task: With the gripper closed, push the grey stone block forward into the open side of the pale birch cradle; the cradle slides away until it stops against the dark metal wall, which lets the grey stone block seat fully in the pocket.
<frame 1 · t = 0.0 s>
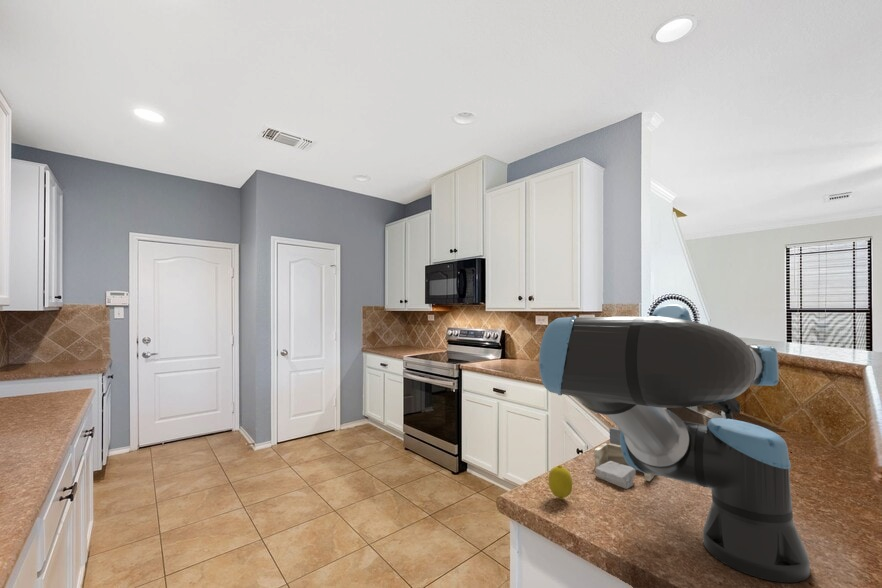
hand: (695, 423, 102), 15 cm above the worktop, tool tilted 35°, fingers open, 13 cm apart
wall: (638, 459, 118), on the worktop
lemon: (560, 500, 93), on the worktop
grey stone block: (615, 481, 103), on the worktop
cradle: (625, 460, 110), point 3 cm above the worktop, slide at 0.0 cm
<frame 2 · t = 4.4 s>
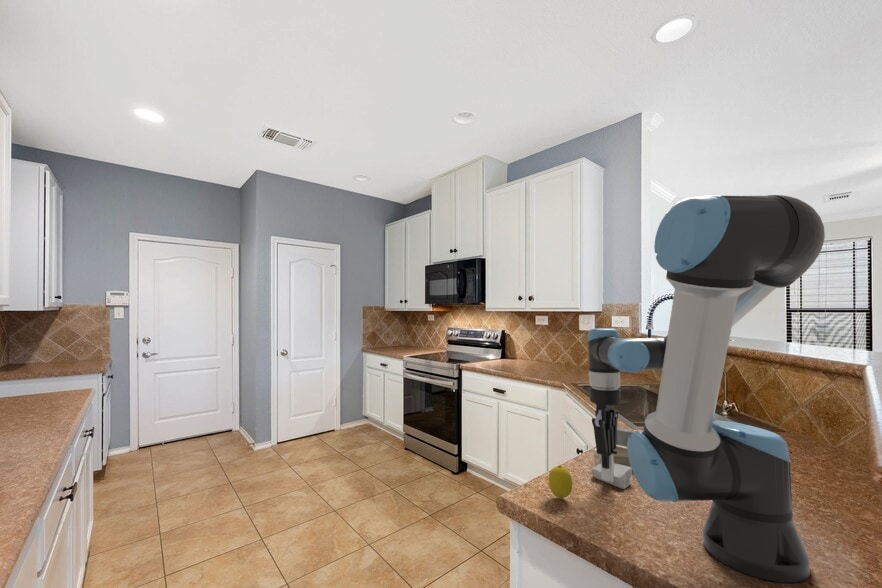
hand: (607, 479, 100), 2 cm above the worktop, tool pointing down, fingers closed
grey stone block: (612, 481, 103), on the worktop
everything else where it was.
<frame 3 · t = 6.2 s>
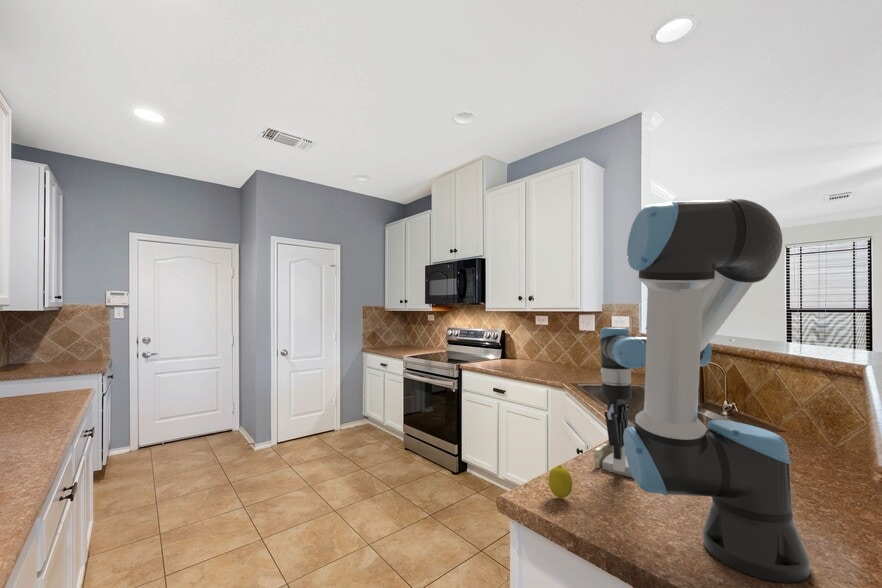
hand: (619, 469, 106), 2 cm above the worktop, tool pointing down, fingers closed
grey stone block: (621, 472, 109), on the worktop
everything else where it was.
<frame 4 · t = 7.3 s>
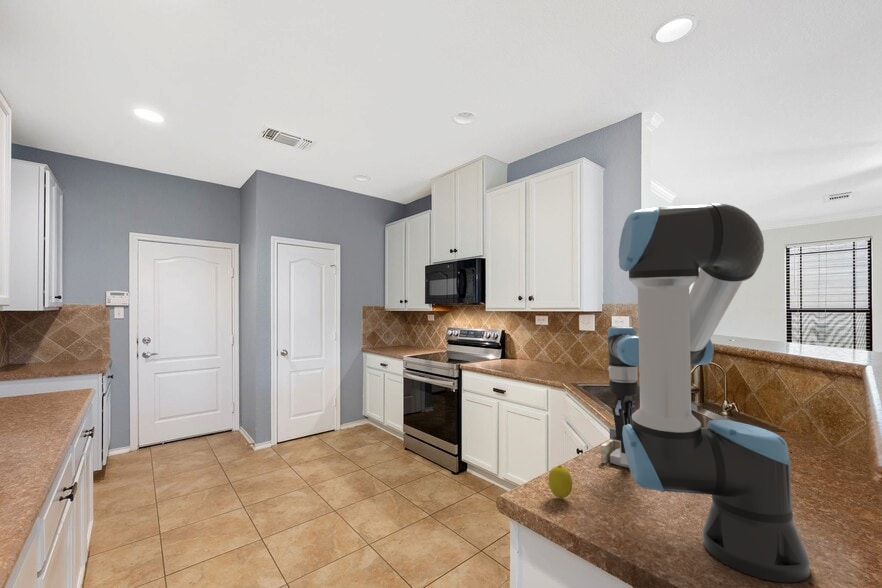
hand: (626, 463, 110), 2 cm above the worktop, tool pointing down, fingers closed
grey stone block: (627, 465, 114), on the worktop, touching cradle, gripper
cradle: (631, 455, 113), point 3 cm above the worktop, slide at 4.9 cm, touching grey stone block
everything else where it was.
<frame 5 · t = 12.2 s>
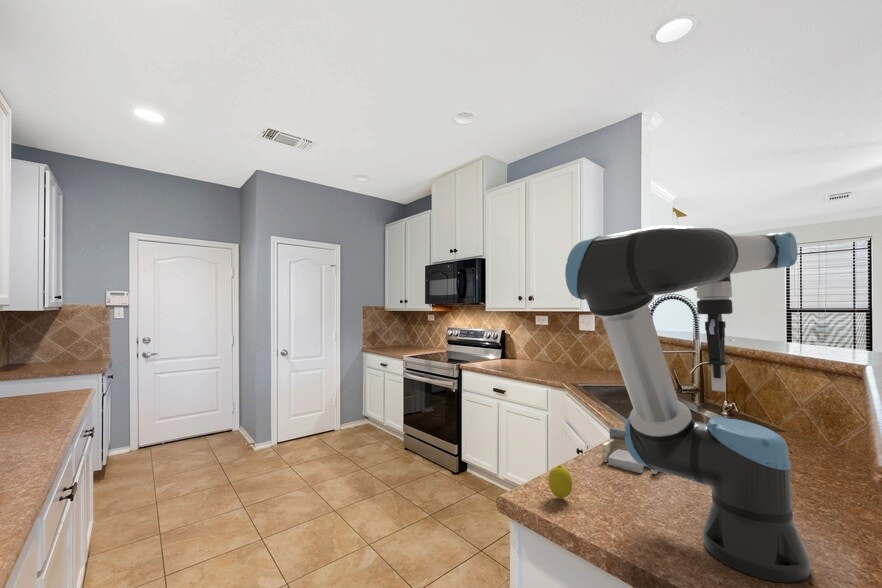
hand: (718, 390, 99), 24 cm above the worktop, tool pointing down, fingers closed
grey stone block: (626, 467, 113), on the worktop
cradle: (632, 454, 114), point 3 cm above the worktop, slide at 6.0 cm, touching wall
everything else where it was.
at the end: cradle slide at 6.0 cm; grey stone block inside the target area on the cradle (2.4 cm from its centre), point 0.0 cm above the cradle's base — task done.
